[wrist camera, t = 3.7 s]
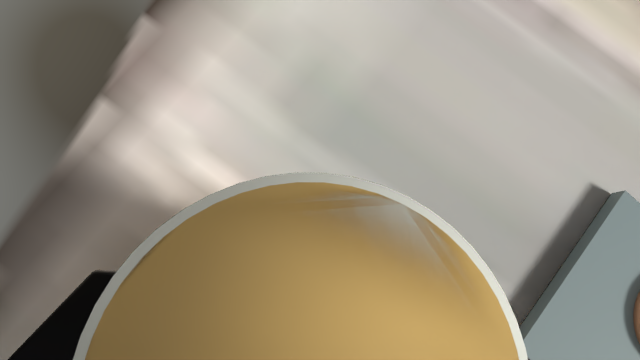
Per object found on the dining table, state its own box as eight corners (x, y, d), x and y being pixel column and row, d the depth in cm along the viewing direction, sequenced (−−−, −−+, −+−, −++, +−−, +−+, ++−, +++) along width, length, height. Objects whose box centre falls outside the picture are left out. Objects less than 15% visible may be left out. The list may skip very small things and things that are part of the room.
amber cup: (253, 459, 15) (346, 789, 5) (113, 340, 15) (-58, 456, 5) (365, 314, 16) (611, 366, 6) (236, 202, 16) (288, 82, 6)
